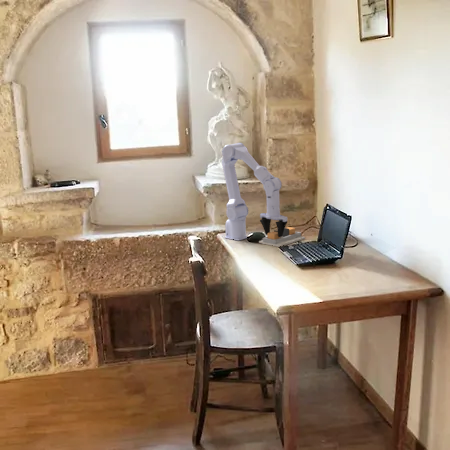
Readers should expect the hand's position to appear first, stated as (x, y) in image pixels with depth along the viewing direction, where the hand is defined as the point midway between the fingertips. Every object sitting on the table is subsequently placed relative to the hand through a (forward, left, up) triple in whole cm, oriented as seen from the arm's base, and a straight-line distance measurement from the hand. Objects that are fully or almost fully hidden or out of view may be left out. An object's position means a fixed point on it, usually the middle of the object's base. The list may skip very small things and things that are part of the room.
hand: (273, 235), depth 266 cm
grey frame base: (0, +6, -4) cm, 7 cm away
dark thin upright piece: (+14, +18, -4) cm, 24 cm away
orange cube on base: (0, 0, -3) cm, 3 cm away
